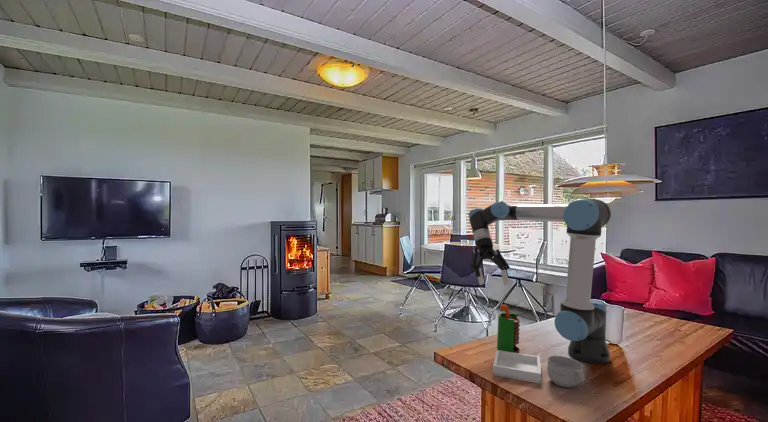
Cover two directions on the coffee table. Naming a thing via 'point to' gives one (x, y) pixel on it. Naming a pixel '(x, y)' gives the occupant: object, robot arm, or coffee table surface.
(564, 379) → the teacup
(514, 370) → the tray
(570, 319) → the robot arm
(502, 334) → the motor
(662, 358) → the coffee table surface
